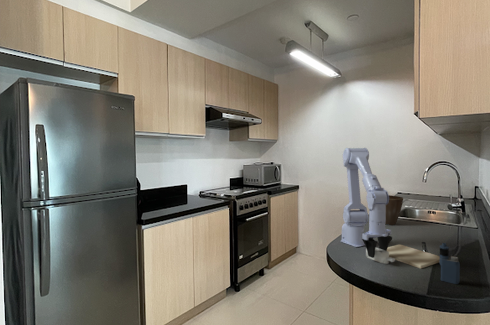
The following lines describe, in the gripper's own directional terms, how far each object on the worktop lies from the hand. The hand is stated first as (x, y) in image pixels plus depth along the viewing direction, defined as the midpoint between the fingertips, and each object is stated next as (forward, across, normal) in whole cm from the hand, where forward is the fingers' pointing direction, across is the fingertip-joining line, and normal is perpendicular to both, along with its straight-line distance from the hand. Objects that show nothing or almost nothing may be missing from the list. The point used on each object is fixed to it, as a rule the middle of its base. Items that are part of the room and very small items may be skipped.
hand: (377, 255), depth 105 cm
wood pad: (+2, +14, -4) cm, 15 cm away
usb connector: (+2, 0, -1) cm, 2 cm away
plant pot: (+2, +55, +33) cm, 64 cm away
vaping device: (+2, +4, -23) cm, 23 cm away
